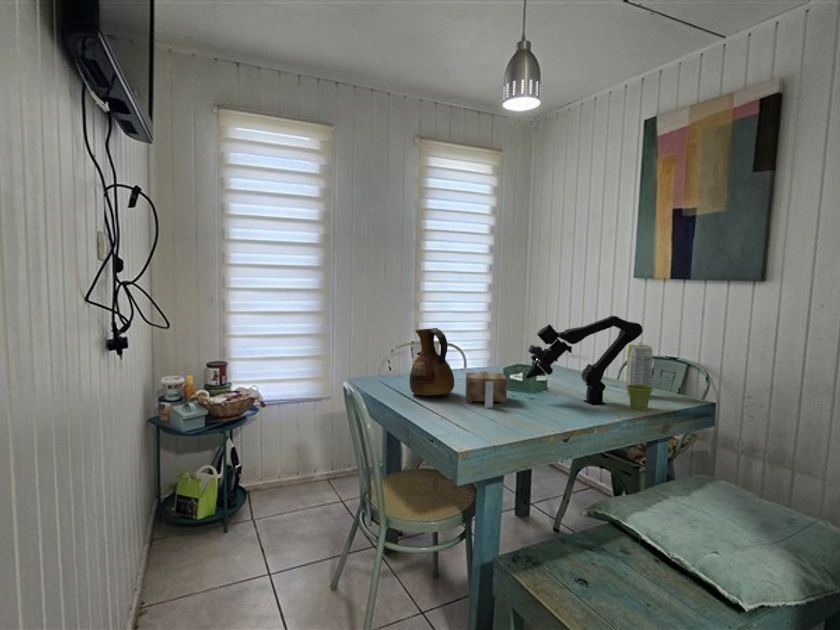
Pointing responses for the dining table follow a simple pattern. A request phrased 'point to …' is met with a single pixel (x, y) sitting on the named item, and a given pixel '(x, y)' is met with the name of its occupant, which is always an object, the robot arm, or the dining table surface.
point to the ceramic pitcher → (431, 366)
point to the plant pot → (639, 396)
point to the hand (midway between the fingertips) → (526, 377)
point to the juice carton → (639, 365)
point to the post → (488, 395)
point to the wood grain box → (477, 386)
